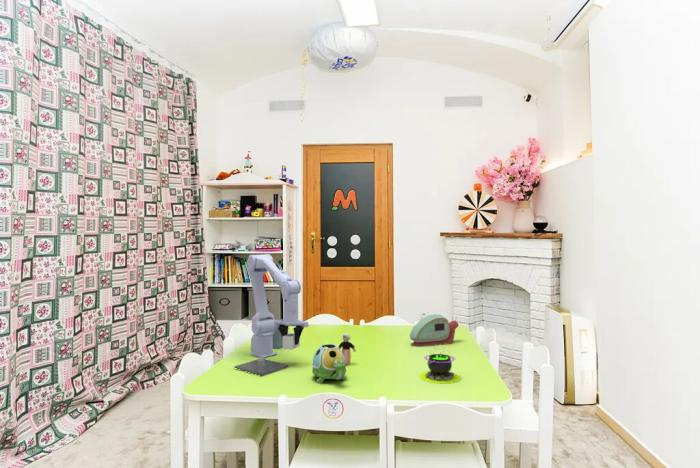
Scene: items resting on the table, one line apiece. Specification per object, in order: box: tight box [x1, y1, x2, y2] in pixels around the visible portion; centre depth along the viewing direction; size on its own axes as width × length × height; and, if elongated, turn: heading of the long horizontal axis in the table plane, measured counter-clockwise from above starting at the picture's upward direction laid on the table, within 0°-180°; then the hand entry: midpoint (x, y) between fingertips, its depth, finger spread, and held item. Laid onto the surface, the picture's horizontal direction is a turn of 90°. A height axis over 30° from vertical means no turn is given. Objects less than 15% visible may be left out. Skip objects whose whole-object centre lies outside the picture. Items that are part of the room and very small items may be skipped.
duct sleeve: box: [282, 332, 301, 351], centre depth 187 cm, size 6×4×5 cm
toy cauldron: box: [419, 346, 462, 385], centre depth 170 cm, size 15×15×11 cm
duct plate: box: [233, 356, 290, 377], centre depth 183 cm, size 16×14×4 cm
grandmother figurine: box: [337, 332, 357, 366], centre depth 187 cm, size 8×4×13 cm, turn 82°
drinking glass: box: [273, 318, 284, 350], centre depth 217 cm, size 10×10×12 cm
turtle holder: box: [311, 343, 348, 384], centre depth 168 cm, size 12×18×12 cm
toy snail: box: [409, 314, 459, 347], centre depth 220 cm, size 25×8×14 cm, turn 107°
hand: (291, 343), depth 187 cm, fingers closed on duct sleeve, 4 cm apart
